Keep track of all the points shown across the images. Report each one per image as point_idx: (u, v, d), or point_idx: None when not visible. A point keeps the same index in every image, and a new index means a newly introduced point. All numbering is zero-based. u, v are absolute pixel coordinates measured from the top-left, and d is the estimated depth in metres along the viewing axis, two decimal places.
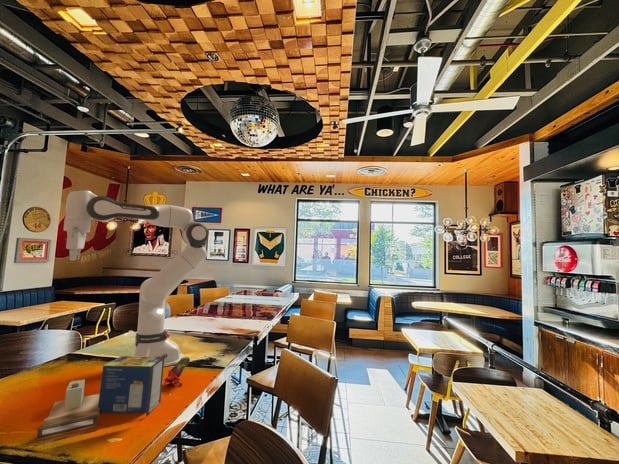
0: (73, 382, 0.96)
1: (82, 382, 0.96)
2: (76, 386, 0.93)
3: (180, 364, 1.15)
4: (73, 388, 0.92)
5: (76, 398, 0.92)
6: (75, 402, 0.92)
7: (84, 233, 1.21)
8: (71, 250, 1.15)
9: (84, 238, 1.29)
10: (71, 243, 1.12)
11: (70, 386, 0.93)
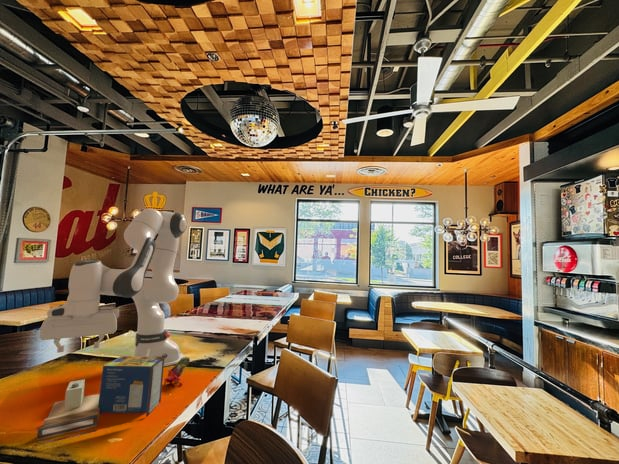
0: (73, 382, 0.96)
1: (82, 382, 0.96)
2: (76, 386, 0.93)
3: (180, 364, 1.15)
4: (73, 388, 0.92)
5: (76, 398, 0.92)
6: (75, 402, 0.92)
7: None
8: (103, 335, 0.99)
9: None
10: (116, 325, 1.01)
11: (70, 386, 0.93)
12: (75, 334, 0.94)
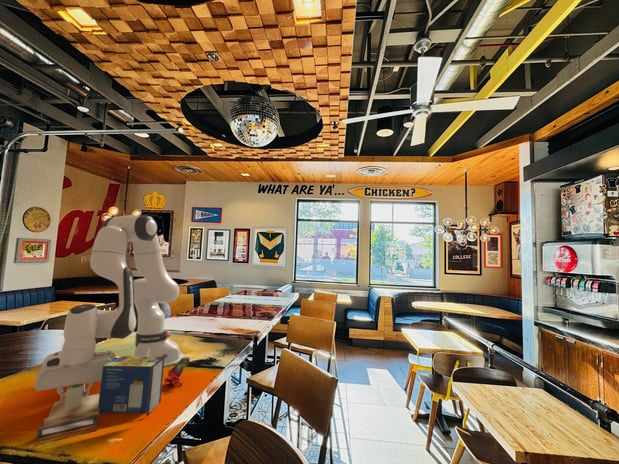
0: None
1: None
2: (76, 386, 0.93)
3: (180, 364, 1.15)
4: (73, 388, 0.92)
5: (76, 398, 0.92)
6: (75, 402, 0.92)
7: None
8: (93, 382, 0.97)
9: None
10: None
11: (70, 386, 0.93)
12: (71, 383, 0.92)
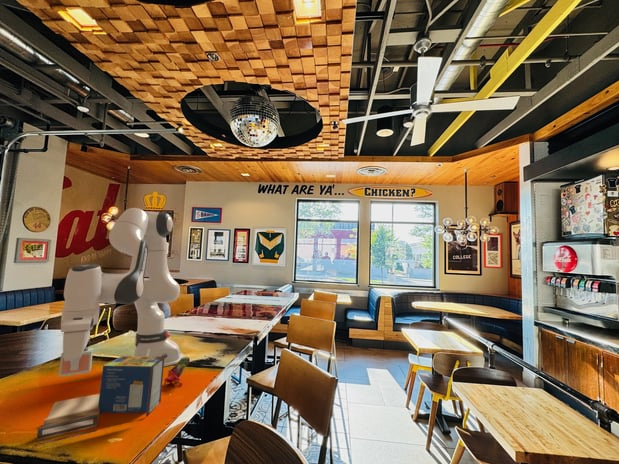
0: None
1: None
2: (87, 348, 0.86)
3: (180, 364, 1.15)
4: (89, 350, 0.86)
5: (91, 359, 0.87)
6: (91, 363, 0.87)
7: None
8: None
9: None
10: None
11: None
12: (85, 346, 0.85)
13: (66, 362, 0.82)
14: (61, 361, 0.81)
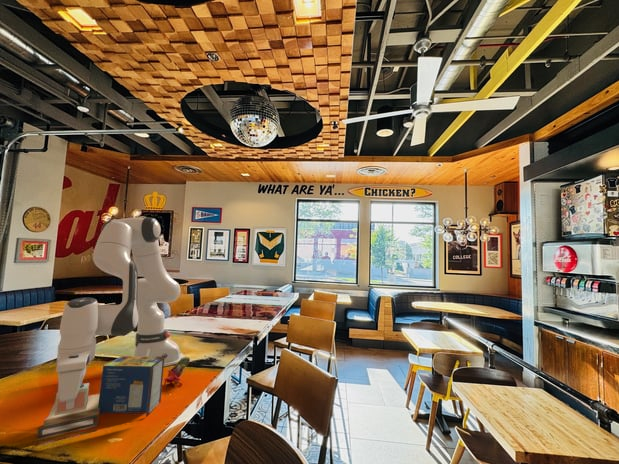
0: None
1: None
2: (83, 384, 0.85)
3: (180, 364, 1.15)
4: (85, 386, 0.85)
5: (87, 394, 0.86)
6: (87, 399, 0.86)
7: None
8: None
9: None
10: None
11: None
12: None
13: None
14: (56, 399, 0.80)
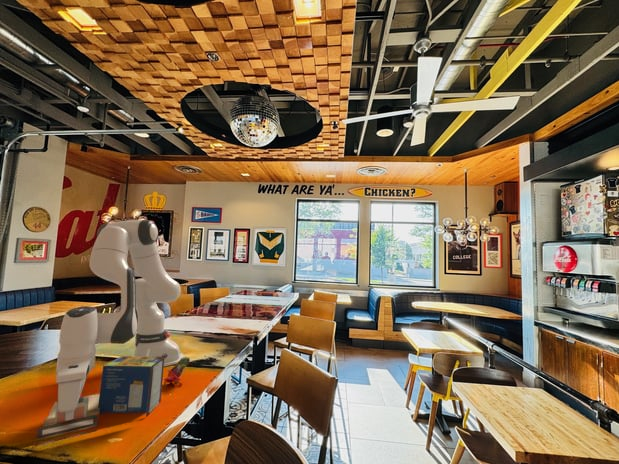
0: None
1: None
2: None
3: (180, 364, 1.15)
4: (85, 400, 0.85)
5: (87, 409, 0.86)
6: None
7: None
8: None
9: None
10: None
11: None
12: None
13: (62, 415, 0.81)
14: (56, 415, 0.80)
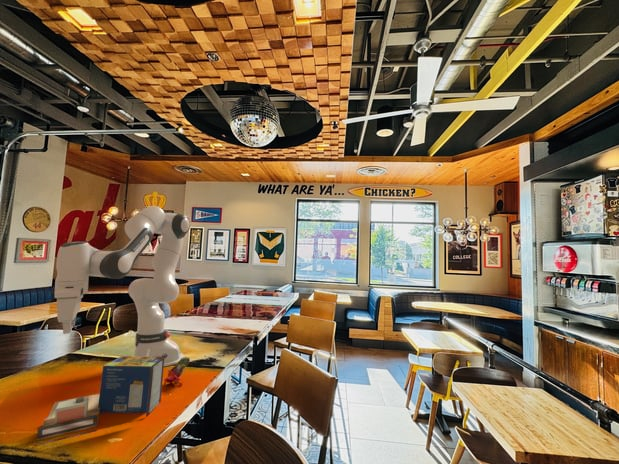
0: (61, 406, 0.82)
1: (69, 400, 0.84)
2: None
3: (180, 364, 1.15)
4: (85, 400, 0.85)
5: (87, 409, 0.86)
6: None
7: None
8: None
9: None
10: None
11: (75, 404, 0.83)
12: (76, 312, 0.97)
13: (62, 415, 0.81)
14: (56, 415, 0.80)
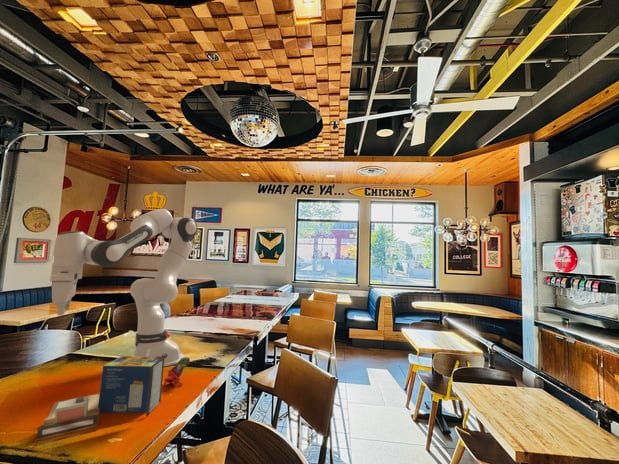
0: (61, 406, 0.82)
1: (69, 400, 0.84)
2: None
3: (180, 364, 1.15)
4: (85, 400, 0.85)
5: (87, 409, 0.86)
6: None
7: None
8: None
9: None
10: None
11: (75, 404, 0.83)
12: (70, 296, 1.05)
13: (62, 415, 0.81)
14: (56, 415, 0.80)
